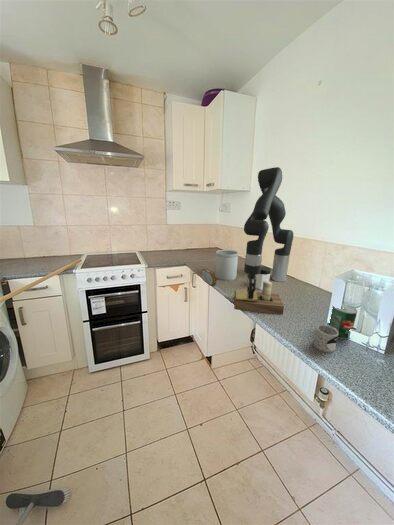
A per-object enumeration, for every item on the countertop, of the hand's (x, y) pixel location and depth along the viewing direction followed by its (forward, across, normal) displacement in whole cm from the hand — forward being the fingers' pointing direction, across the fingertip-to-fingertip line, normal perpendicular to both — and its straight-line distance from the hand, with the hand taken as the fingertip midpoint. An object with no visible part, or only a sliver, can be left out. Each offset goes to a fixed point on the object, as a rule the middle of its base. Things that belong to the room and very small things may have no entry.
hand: (250, 294), depth 106 cm
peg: (+5, 0, +8) cm, 9 cm away
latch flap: (+1, 0, -2) cm, 2 cm away
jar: (+6, -25, +9) cm, 27 cm away
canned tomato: (+6, +18, +34) cm, 39 cm away
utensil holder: (+5, -38, -13) cm, 41 cm away
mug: (+6, +27, +26) cm, 38 cm away
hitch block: (+5, 0, +4) cm, 6 cm away
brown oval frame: (+5, -24, -23) cm, 34 cm away
